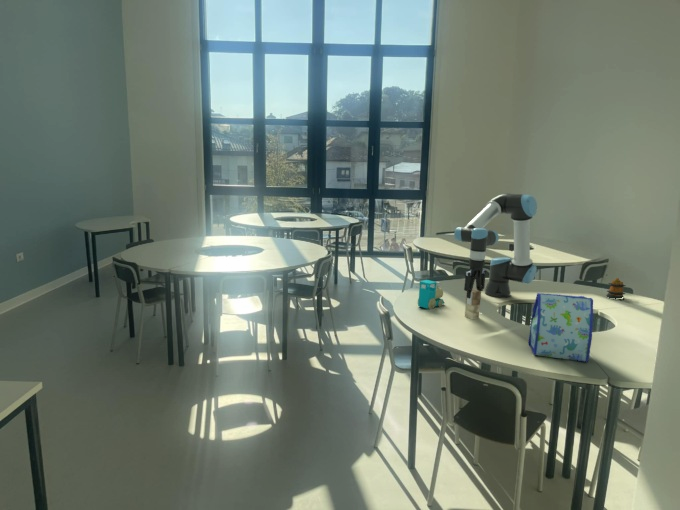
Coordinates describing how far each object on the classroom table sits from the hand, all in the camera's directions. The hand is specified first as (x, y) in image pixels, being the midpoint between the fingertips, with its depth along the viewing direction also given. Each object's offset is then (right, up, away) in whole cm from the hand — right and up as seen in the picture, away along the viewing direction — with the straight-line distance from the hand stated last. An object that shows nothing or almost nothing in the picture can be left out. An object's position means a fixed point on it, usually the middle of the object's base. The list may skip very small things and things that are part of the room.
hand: (472, 303), depth 241 cm
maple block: (0, -7, +1) cm, 7 cm away
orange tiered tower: (+105, -2, +54) cm, 118 cm away
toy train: (-17, -4, +22) cm, 28 cm away
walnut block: (0, 0, 0) cm, 0 cm away
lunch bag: (+25, -18, -39) cm, 50 cm away
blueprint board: (0, -8, +4) cm, 9 cm away
